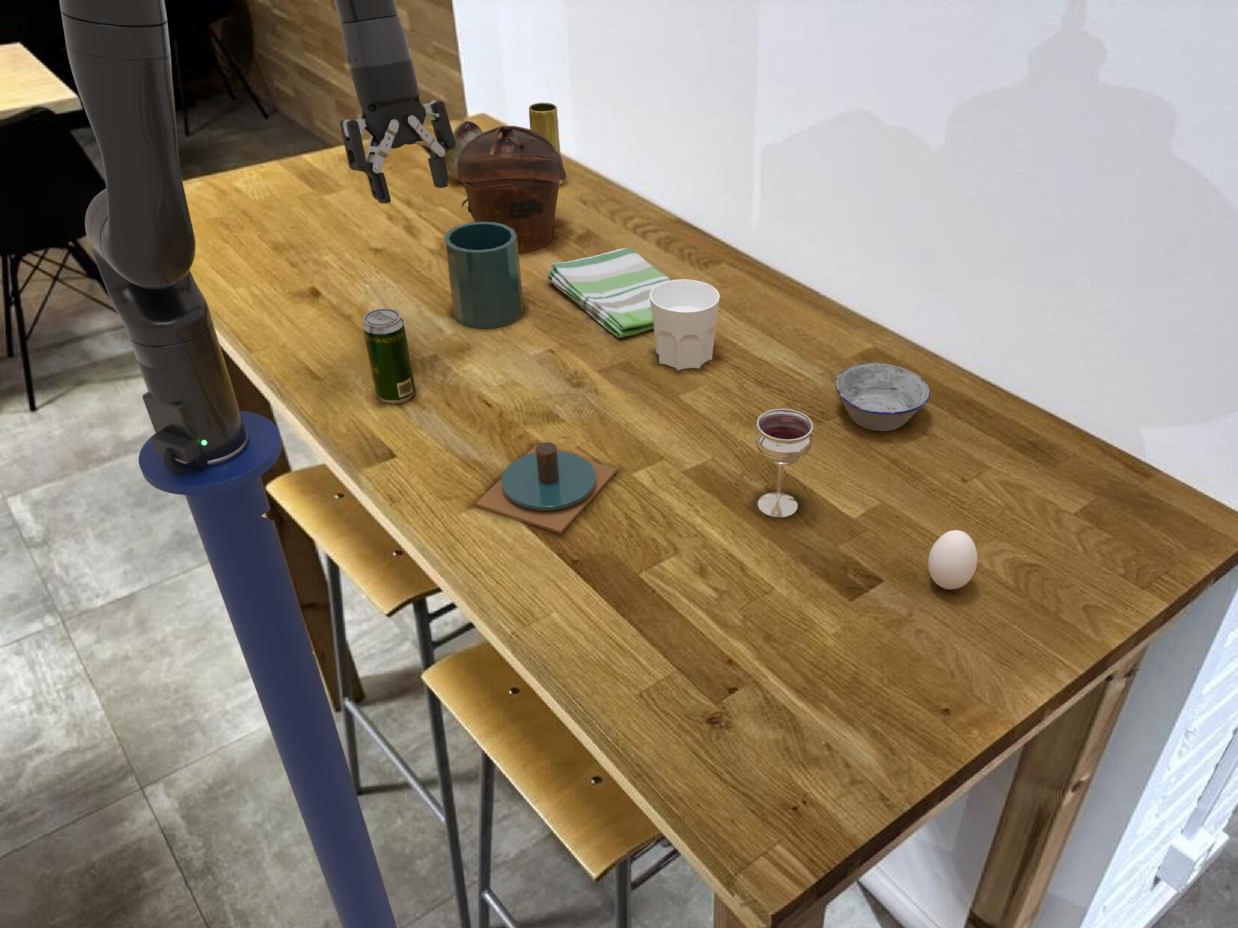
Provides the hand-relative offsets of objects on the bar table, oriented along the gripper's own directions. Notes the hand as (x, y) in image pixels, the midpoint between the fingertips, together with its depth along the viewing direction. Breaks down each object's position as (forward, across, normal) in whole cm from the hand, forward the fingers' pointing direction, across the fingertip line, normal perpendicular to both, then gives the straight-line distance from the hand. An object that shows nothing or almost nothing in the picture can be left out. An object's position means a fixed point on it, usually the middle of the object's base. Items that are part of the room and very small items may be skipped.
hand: (413, 194), depth 139 cm
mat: (+33, -6, -27) cm, 43 cm away
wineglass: (+38, +12, -48) cm, 62 cm away
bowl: (+36, +37, -45) cm, 69 cm away
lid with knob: (+32, -6, -27) cm, 42 cm away
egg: (+43, +15, -71) cm, 84 cm away
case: (+18, +36, +32) cm, 51 cm away
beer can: (+26, -8, +4) cm, 27 cm away
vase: (+14, +55, +47) cm, 74 cm away
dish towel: (+25, +34, +3) cm, 43 cm away
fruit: (+11, +45, +58) cm, 74 cm away
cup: (+29, +29, -16) cm, 44 cm away
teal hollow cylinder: (+22, +16, +14) cm, 31 cm away
